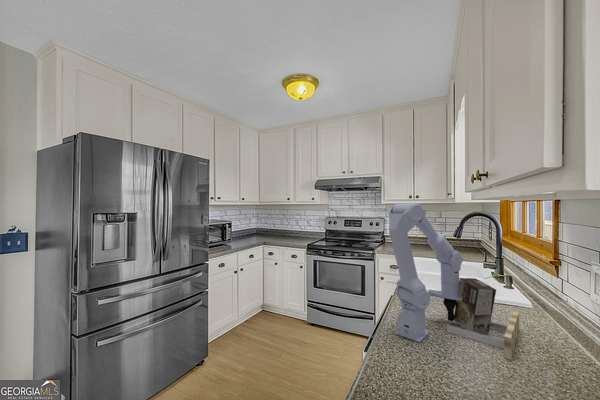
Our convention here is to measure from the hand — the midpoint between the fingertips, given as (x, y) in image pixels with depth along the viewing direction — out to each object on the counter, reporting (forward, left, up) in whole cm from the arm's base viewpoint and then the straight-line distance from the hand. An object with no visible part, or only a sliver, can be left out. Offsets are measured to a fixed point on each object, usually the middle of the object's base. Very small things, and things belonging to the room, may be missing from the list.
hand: (451, 319), depth 92 cm
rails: (0, -8, -2) cm, 9 cm away
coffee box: (0, -6, -1) cm, 6 cm away
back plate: (0, -17, -2) cm, 17 cm away
